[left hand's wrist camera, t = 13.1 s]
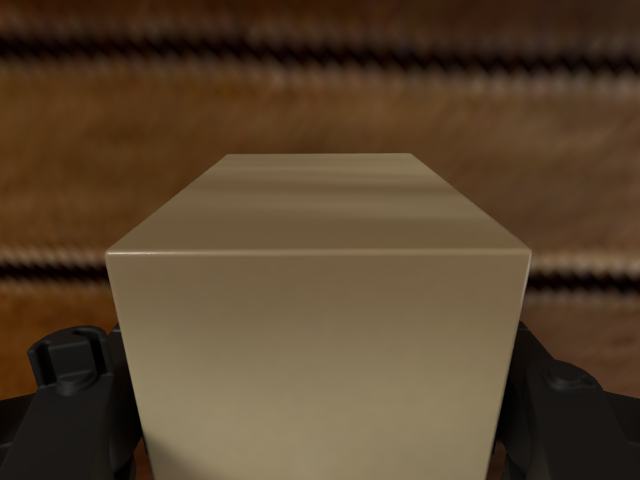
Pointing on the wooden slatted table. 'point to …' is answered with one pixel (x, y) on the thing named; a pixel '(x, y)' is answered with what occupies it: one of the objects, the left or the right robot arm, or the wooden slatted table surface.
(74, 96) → the wooden slatted table surface
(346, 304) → the birch beam
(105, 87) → the wooden slatted table surface
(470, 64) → the wooden slatted table surface
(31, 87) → the wooden slatted table surface
